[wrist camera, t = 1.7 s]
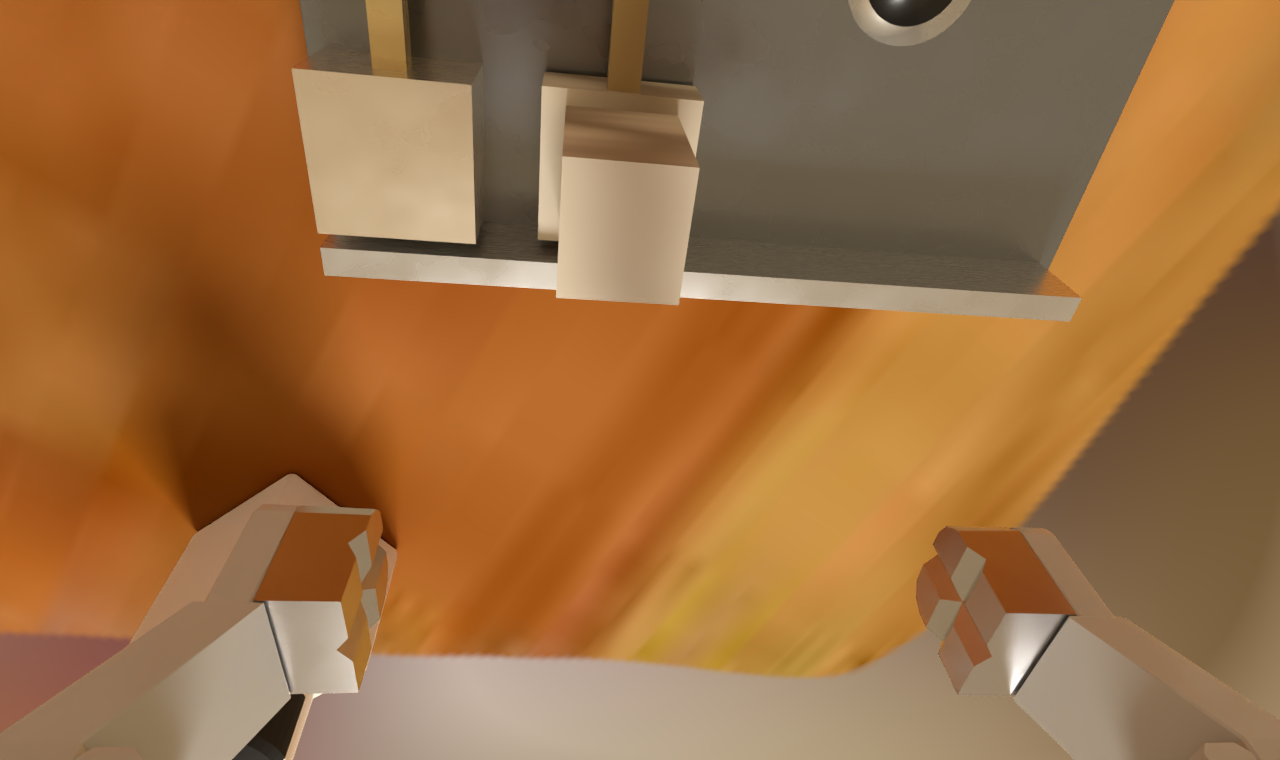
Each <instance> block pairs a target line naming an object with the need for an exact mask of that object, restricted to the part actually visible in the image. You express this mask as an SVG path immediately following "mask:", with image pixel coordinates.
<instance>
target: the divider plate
mask: <svg viewBox="0 0 1280 760" xmlns="http://www.w3.org/2000/svg"><path fill="white" fill-rule="evenodd" d="M1173 2H1174V0H649V5H648V15H647V25H646V35H645V46H644V56H643V66H642V76H641V81H647V82H658V83H668V84H679V85H689V86H696V88H697V89H698V91H699V93H700V95H701V97H702V98H703V100H704V105H703V112H702V118H701V125H700V132H699V138H698V145H697V152H696V160H697V162H698V165H699V167H700V169H699V176H698V182H697V189H696V195H695V202H694V208H693V215H692V221H691V228H690V234H689V241H688V247H687V254H686V260H685V267H684V273H683V280H682V286H681V293H680V297H683V298H699V299H715V300H731V301H748V302H764V303H780V304H796V305H812V306H828V307H845V308H861V309H877V310H893V311H909V312H925V313H941V314H958V315H974V316H990V317H1006V318H1022V319H1038V320H1055V321H1070V320H1071V318H1072V316H1073V315H1074V313H1075V311H1076V309H1077V307H1078V305H1079V303H1080V301H1081V299H1082V298H1081V297H1080V296H1079V295H1078V294H1076V293H1075V292H1074V291H1073V290H1072V289H1070V288H1069V287H1068V286H1067V285H1066V284H1064V283H1063V282H1062V281H1061V280H1060V279H1058V278H1057V277H1056V276H1055V275H1054V274H1052V273H1051V272H1050V271H1049V270H1048V268H1049V266H1050V264H1051V262H1052V260H1053V258H1054V256H1055V254H1056V251H1057V249H1058V247H1059V245H1060V243H1061V241H1062V239H1063V236H1064V234H1065V232H1066V230H1067V228H1068V226H1069V224H1070V222H1071V219H1072V217H1073V215H1074V213H1075V211H1076V209H1077V207H1078V205H1079V202H1080V200H1081V198H1082V196H1083V194H1084V192H1085V190H1086V187H1087V185H1088V183H1089V181H1090V179H1091V177H1092V175H1093V173H1094V170H1095V168H1096V166H1097V164H1098V162H1099V160H1100V158H1101V156H1102V153H1103V151H1104V149H1105V147H1106V145H1107V143H1108V141H1109V138H1110V136H1111V134H1112V132H1113V130H1114V128H1115V126H1116V124H1117V121H1118V119H1119V117H1120V115H1121V113H1122V111H1123V109H1124V107H1125V104H1126V102H1127V100H1128V98H1129V96H1130V94H1131V92H1132V89H1133V87H1134V85H1135V83H1136V81H1137V79H1138V77H1139V75H1140V72H1141V70H1142V68H1143V66H1144V64H1145V62H1146V60H1147V58H1148V55H1149V53H1150V51H1151V49H1152V47H1153V45H1154V43H1155V40H1156V38H1157V36H1158V34H1159V32H1160V30H1161V28H1162V26H1163V23H1164V21H1165V19H1166V17H1167V15H1168V13H1169V11H1170V9H1171V6H1172V4H1173ZM300 6H301V13H302V20H303V26H304V33H305V40H306V47H307V54H308V58H307V59H305V60H304V61H302V62H300V63H299V64H297V65H296V66H294V67H293V68H292V74H293V81H294V87H295V93H296V99H297V106H298V112H299V118H300V125H301V131H302V137H303V143H304V150H305V156H306V162H307V168H308V175H309V181H310V187H311V194H312V200H313V206H314V212H315V219H316V225H317V231H318V233H320V234H330V235H329V236H328V237H327V239H326V240H325V242H324V243H323V244H322V246H321V247H320V250H321V256H322V262H323V269H324V275H328V276H344V277H360V278H376V279H392V280H408V281H425V282H441V283H457V284H473V285H489V286H505V287H521V288H538V289H554V290H557V267H558V244H559V241H549V240H538V212H539V173H540V134H541V95H542V82H543V77H544V72H554V73H565V74H575V75H585V76H596V77H606V78H607V74H608V61H609V47H610V34H611V20H612V7H613V0H300Z"/></svg>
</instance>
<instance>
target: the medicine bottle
mask: <svg viewBox="0 0 1280 760" xmlns="http://www.w3.org/2000/svg"><path fill="white" fill-rule="evenodd" d="M262 504H276V505H294V506H302V505H308V506H326V507H339V506H337V505H336V504H335V503H333V502H332V501H331V500H329V499H328V498H327V497H325V496H324V495H323V494H321V493H320V492H319V491H317V490H316V489H315V488H313V487H312V486H311V485H309V484H308V483H307V482H305V481H304V480H303V479H301V478H300V477H299V476H297V475H296V474H288V475H286V476H285V477H283V478H281V479H280V480H278V481H277V482H275V483H274V484H272V485H270V486H269V487H267V488H266V489H264V490H263V491H261V492H260V493H258V494H256V495H255V496H253V497H252V498H250V499H249V500H247V501H245V502H244V503H242V504H241V505H239V506H238V507H236V508H234V509H233V510H231V511H230V512H228V513H227V514H225V515H223V516H222V517H220V518H219V519H217V520H216V521H214V522H212V523H211V524H209V525H208V526H206V527H205V528H203V529H202V530H200V531H198V532H197V533H196V534H195V535H194V536H193V537H192V539H191V541H190V542H189V544H188V546H187V547H186V549H185V551H184V552H183V554H182V556H181V557H180V559H179V561H178V562H177V564H176V566H175V567H174V569H173V571H172V573H171V574H170V576H169V578H168V579H167V581H166V583H165V584H164V586H163V588H162V589H161V591H160V593H159V594H158V596H157V598H156V599H155V601H154V603H153V605H152V606H151V608H150V610H149V611H148V613H147V615H146V616H145V618H144V620H143V621H142V623H141V625H140V626H139V628H138V630H137V631H136V633H135V635H134V636H133V638H132V640H131V642H130V643H129V644H131V643H132V642H134V641H135V640H137V639H138V638H140V637H141V636H143V635H144V634H146V633H147V632H148V631H150V630H151V629H153V628H154V627H156V626H157V625H159V624H160V623H162V622H163V621H164V620H166V619H167V618H169V617H170V616H172V615H173V614H175V613H176V612H178V611H179V610H181V609H182V608H183V607H185V606H186V605H188V604H189V603H191V602H204V601H205V600H206V598H207V596H208V594H209V592H210V590H211V589H212V587H213V585H214V583H215V581H216V579H217V578H218V576H219V574H220V572H221V570H222V568H223V567H224V565H225V563H226V561H227V559H228V557H229V556H230V554H231V552H232V550H233V548H234V546H235V545H236V543H237V541H238V539H239V537H240V535H241V534H242V532H243V530H244V528H245V526H246V524H247V523H248V521H249V519H250V517H251V515H252V513H253V512H254V511H255V510H256V509H257V508H259V507H260V506H261V505H262ZM378 545H379V546H381V547H382V548H383V549H384V550H385V551H386V553H387V561H388V582H387V589H386V596H387V592H388V589H389V585H390V581H391V578H392V574H393V570H394V567H395V563H396V559H397V551H396V549H394V548H393V547H392V546H390V545H389V544H388V543H386V542H385V541H384V540H382V539H381V538H380V541H379V544H378ZM386 596H385V600H386ZM384 603H385V602H384ZM383 607H384V606H383ZM382 611H383V610H382ZM381 614H382V613H381ZM380 618H381V617H380ZM379 622H380V620H379V621H378V622H376V623H375V624H374V625H373V626H372V627H371V628H370V629H369V634H370V640H371V646H372V647H373V644H374V640H375V636H376V633H377V629H378V625H379ZM371 651H372V649H371ZM370 655H371V652H370ZM369 658H370V656H369ZM368 661H369V659H368ZM367 665H368V662H367ZM366 668H367V666H366ZM365 670H366V669H365ZM321 694H323V693H317V694H290V696H291V699H290V700H289V701H288V702H287V703H286V704H285V705H284V706H283V707H282V708H281V709H280V710H279V711H278V712H277V713H276V714H275V715H274V716H273V717H272V718H271V719H270V720H269V722H268V723H267V724H266V725H265V726H264V727H263V728H262V729H261V730H260V731H259V732H258V733H257V734H256V735H255V736H254V737H253V738H252V739H251V740H250V741H249V742H248V743H247V744H246V746H245V747H244V748H243V749H242V750H241V751H240V752H239V753H238V754H237V755H236V756H235V757H234V758H233V759H232V760H293V758H294V755H295V752H296V749H297V745H298V743H299V739H300V736H301V733H302V730H303V727H304V724H305V721H306V718H307V715H308V712H309V709H310V706H311V703H312V700H313V698H315V697H317V696H319V695H321Z"/></svg>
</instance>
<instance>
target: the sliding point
mask: <svg viewBox="0 0 1280 760" xmlns="http://www.w3.org/2000/svg"><path fill="white" fill-rule="evenodd" d="M648 5H649V0H613V7H612V20H611V34H610V47H609V61H608V74H607V78H606V77H596V76H585V75H575V74H565V73H554V72H544V77H543V82H542V95H541V134H540V173H539V212H538V240H549V241H559V244H558V267H557V290H556V298H569V299H586V300H602V301H619V302H635V303H652V304H668V305H679V299H680V293H681V286H682V280H683V273H684V267H685V260H686V254H687V247H688V241H689V234H690V228H691V221H692V215H693V208H694V202H695V195H696V189H697V182H698V176H699V169H700V167H699V165H698V162H697V160H696V152H697V145H698V138H699V132H700V125H701V118H702V112H703V105H704V100H703V98H702V97H701V95H700V93H699V91H698V89H697V88H696V86H689V85H679V84H668V83H658V82H647V81H641V76H642V66H643V56H644V46H645V35H646V25H647V15H648Z"/></svg>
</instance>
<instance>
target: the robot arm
mask: <svg viewBox="0 0 1280 760" xmlns="http://www.w3.org/2000/svg"><path fill="white" fill-rule="evenodd" d="M382 531H383V525H382V519H381V513H380V511H378V510H376V509H363V508H345V507H326V506H308V505H302V506H294V505H276V504H262V505H261V506H260V507H259V508H257V509H256V510H255V511H254V512H253V513H252V515H251V517H250V519H249V521H248V523H247V524H246V526H245V528H244V530H243V532H242V534H241V535H240V537H239V539H238V541H237V543H236V545H235V546H234V548H233V550H232V552H231V554H230V556H229V557H228V559H227V561H226V563H225V565H224V567H223V568H222V570H221V572H220V574H219V576H218V578H217V579H216V581H215V583H214V585H213V587H212V589H211V590H210V592H209V594H208V596H207V598H206V600H205V601H204V602H191V603H189V604H188V605H186V606H185V607H183V608H182V609H181V610H179V611H178V612H176V613H175V614H173V615H172V616H170V617H169V618H167V619H166V620H164V621H163V622H162V623H160V624H159V625H157V626H156V627H154V628H153V629H151V630H150V631H148V632H147V633H146V634H144V635H143V636H141V637H140V638H138V639H137V640H135V641H134V642H132V643H131V644H129V645H128V646H127V647H125V648H124V649H122V650H121V651H119V652H118V653H116V654H115V655H114V656H112V657H111V658H109V659H108V660H106V661H105V662H103V663H102V664H100V665H99V666H98V667H96V668H95V669H93V670H92V671H90V672H89V673H87V674H86V675H84V676H83V677H81V678H80V679H78V680H77V681H76V682H74V683H73V684H71V685H70V686H68V687H67V688H65V689H64V690H63V691H61V692H60V693H58V694H57V695H55V696H54V697H52V698H51V699H49V700H48V701H47V702H45V703H44V704H42V705H41V706H39V707H38V708H36V709H35V710H33V711H32V712H30V713H29V714H27V715H26V716H25V717H23V718H22V719H20V720H19V721H17V722H16V723H14V724H13V725H12V726H10V727H9V728H7V729H6V730H4V731H3V732H1V733H0V760H232V759H233V758H234V757H235V756H236V755H237V754H238V753H239V752H240V751H241V750H242V749H243V748H244V747H245V746H246V744H247V743H248V742H249V741H250V740H251V739H252V738H253V737H254V736H255V735H256V734H257V733H258V732H259V731H260V730H261V729H262V728H263V727H264V726H265V725H266V724H267V723H268V722H269V720H270V719H271V718H272V717H273V716H274V715H275V714H276V713H277V712H278V711H279V710H280V709H281V708H282V707H283V706H284V705H285V704H286V703H287V702H288V701H289V700H290V699H291V696H290V694H317V693H357V692H359V690H360V686H361V683H362V679H363V676H364V673H365V669H366V666H367V662H368V659H369V656H370V652H371V649H372V646H371V640H370V634H369V629H370V628H371V627H372V626H373V625H374V624H375V623H376V622H378V621H379V620H380V617H381V613H382V610H383V606H384V602H385V596H386V589H387V582H388V561H387V553H386V551H385V550H384V549H383V548H382V547H381V546H379V545H378V544H379V541H380V538H381V535H382ZM933 545H934V548H935V550H936V552H937V554H938V555H937V556H935V557H934V558H932V559H931V560H929V561H928V562H927V563H925V564H924V565H923V567H922V569H921V571H920V574H919V576H918V579H917V589H916V600H917V604H918V608H919V613H920V615H921V617H922V619H923V622H924V624H925V626H926V628H927V629H929V630H930V631H931V632H932V633H933V634H935V635H936V636H937V637H938V638H939V639H941V640H942V642H941V646H940V649H939V653H938V655H939V657H940V659H941V661H942V663H943V665H944V667H945V669H946V672H947V674H948V676H949V678H950V680H951V682H952V684H953V686H954V689H955V691H956V693H957V694H958V695H978V696H1008V697H1010V696H1011V697H1014V699H1013V700H1014V701H1015V702H1016V703H1017V704H1018V705H1019V706H1020V707H1021V708H1022V709H1023V710H1024V711H1025V712H1026V713H1027V714H1028V715H1029V716H1030V717H1031V718H1032V719H1033V720H1034V721H1035V722H1036V723H1037V724H1038V725H1039V726H1040V727H1042V728H1043V730H1045V731H1046V732H1047V733H1048V734H1049V735H1050V736H1051V737H1052V738H1053V739H1054V740H1055V741H1056V742H1057V743H1058V744H1059V745H1060V746H1061V747H1062V748H1063V749H1064V750H1065V751H1066V752H1067V753H1068V754H1069V755H1070V756H1071V757H1072V758H1073V759H1074V760H1280V720H1279V719H1277V718H1276V717H1274V716H1273V715H1271V714H1270V713H1268V712H1267V711H1265V710H1264V709H1262V708H1261V707H1259V706H1257V705H1256V704H1255V703H1253V702H1252V701H1250V700H1248V699H1247V698H1246V697H1244V696H1243V695H1241V694H1239V693H1238V692H1236V691H1235V690H1233V689H1232V688H1230V687H1229V686H1227V685H1226V684H1224V683H1223V682H1221V681H1220V680H1218V679H1217V678H1215V677H1214V676H1212V675H1210V674H1209V673H1208V672H1206V671H1204V670H1203V669H1202V668H1200V667H1198V666H1197V665H1196V664H1194V663H1193V662H1191V661H1190V660H1188V659H1187V658H1185V657H1184V656H1182V655H1181V654H1179V653H1177V652H1176V651H1174V650H1173V649H1171V648H1170V647H1168V646H1167V645H1165V644H1164V643H1162V642H1161V641H1159V640H1158V639H1156V638H1155V637H1153V636H1152V635H1150V634H1149V633H1147V632H1146V631H1144V630H1143V629H1141V628H1140V627H1138V626H1136V625H1135V624H1134V623H1132V622H1130V621H1129V620H1128V619H1126V618H1124V617H1114V616H1113V615H1112V613H1111V612H1110V611H1109V609H1108V608H1107V606H1106V605H1105V604H1104V603H1103V601H1102V600H1101V598H1100V597H1099V596H1098V594H1097V593H1096V592H1095V590H1094V589H1093V588H1092V586H1091V585H1090V583H1089V582H1088V581H1087V579H1086V578H1085V577H1084V575H1083V574H1082V573H1081V571H1080V570H1079V568H1078V567H1077V566H1076V564H1075V563H1074V562H1073V560H1072V559H1071V558H1070V556H1069V555H1068V553H1067V552H1066V551H1065V549H1064V548H1063V547H1062V546H1061V544H1060V543H1059V541H1058V540H1057V538H1056V537H1055V536H1054V535H1053V534H1052V533H1051V532H1049V531H1048V530H1046V529H1045V528H1013V527H1012V528H1006V527H963V526H946V527H945V528H944V529H942V530H941V531H940V532H939V533H938V535H937V537H936V539H935V541H934V543H933Z"/></svg>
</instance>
